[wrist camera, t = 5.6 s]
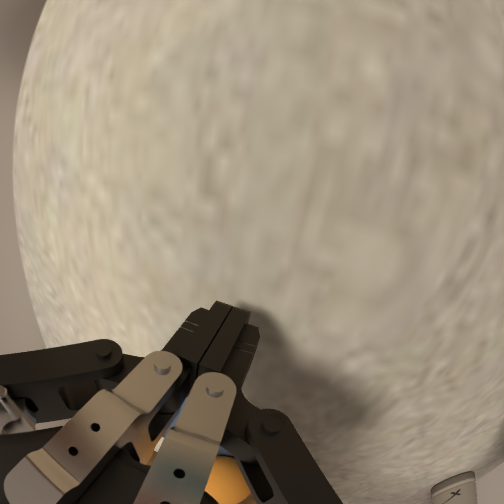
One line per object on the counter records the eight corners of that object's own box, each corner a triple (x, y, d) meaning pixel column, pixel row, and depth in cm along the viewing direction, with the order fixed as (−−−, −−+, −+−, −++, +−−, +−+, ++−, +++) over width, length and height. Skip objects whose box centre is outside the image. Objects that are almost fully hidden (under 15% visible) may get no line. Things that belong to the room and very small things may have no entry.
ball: (254, 497, 15) (242, 518, 16) (262, 453, 20) (251, 479, 21) (187, 480, 15) (185, 503, 16) (205, 439, 21) (201, 467, 22)
